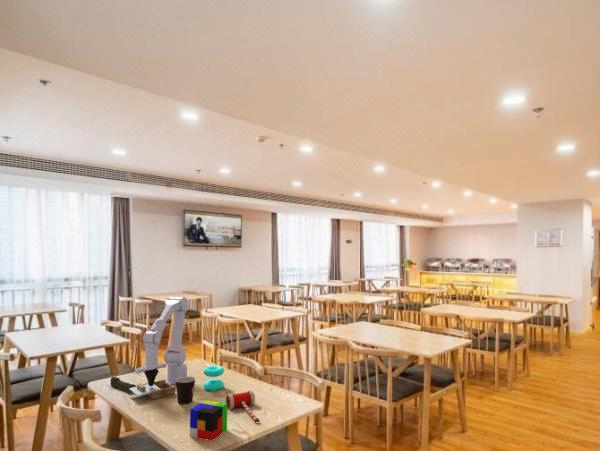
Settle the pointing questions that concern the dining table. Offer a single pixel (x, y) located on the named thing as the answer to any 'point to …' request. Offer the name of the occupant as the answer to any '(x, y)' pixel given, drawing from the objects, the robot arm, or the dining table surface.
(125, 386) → the dark brown wooden log
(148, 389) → the lid
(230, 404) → the toy hammer
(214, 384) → the donuts
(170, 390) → the wooden tray
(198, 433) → the puzzle toy
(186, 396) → the coffee mug
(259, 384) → the dining table surface
